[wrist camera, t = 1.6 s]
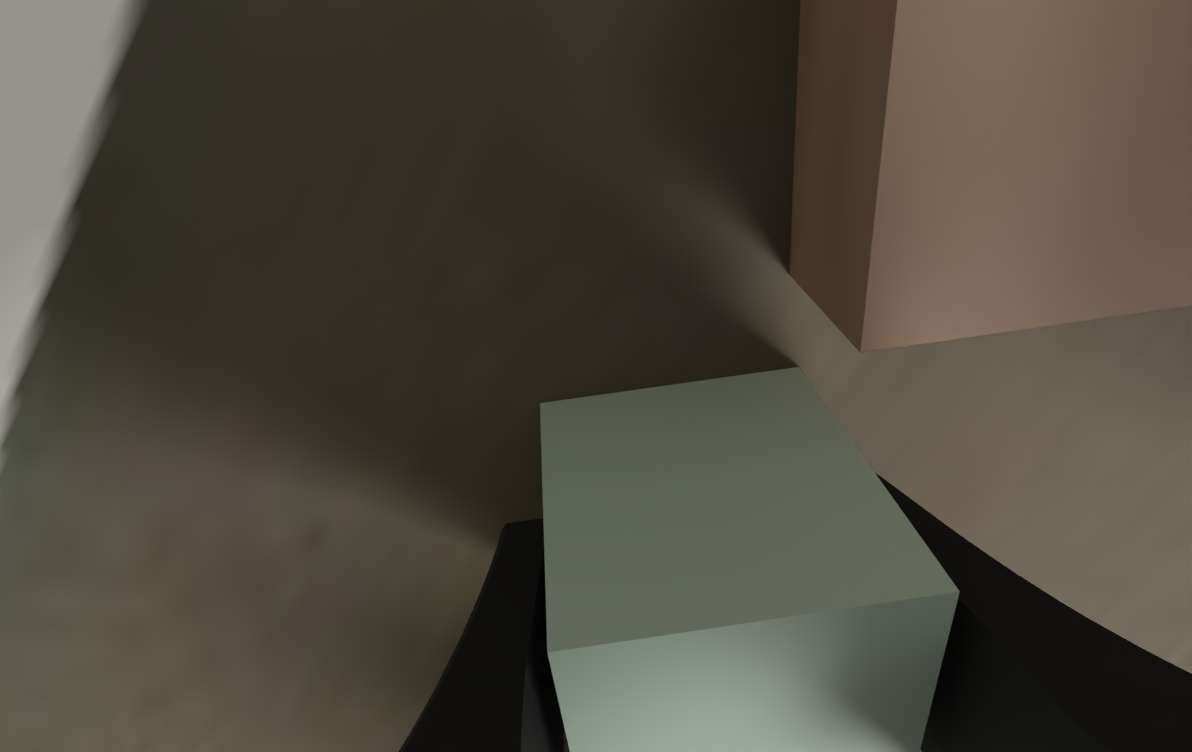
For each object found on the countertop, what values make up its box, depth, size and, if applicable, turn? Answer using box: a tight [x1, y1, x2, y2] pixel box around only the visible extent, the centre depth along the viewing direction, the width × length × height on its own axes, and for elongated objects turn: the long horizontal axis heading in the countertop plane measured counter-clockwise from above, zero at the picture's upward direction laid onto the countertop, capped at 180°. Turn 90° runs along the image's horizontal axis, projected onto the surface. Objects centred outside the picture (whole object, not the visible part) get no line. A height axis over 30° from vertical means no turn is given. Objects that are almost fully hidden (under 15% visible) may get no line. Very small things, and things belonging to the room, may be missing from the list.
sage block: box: [540, 367, 960, 752], centre depth 10 cm, size 4×4×5 cm
